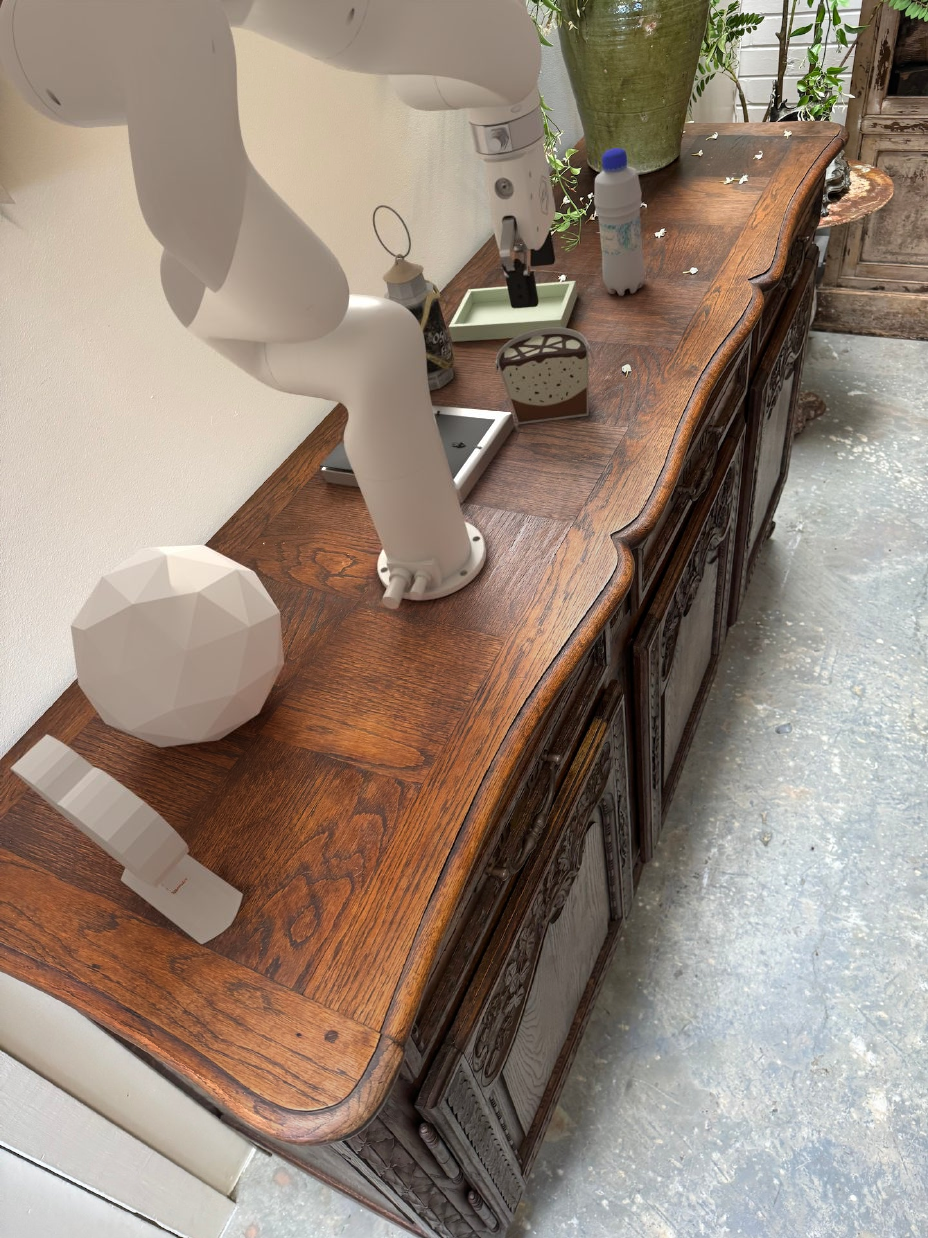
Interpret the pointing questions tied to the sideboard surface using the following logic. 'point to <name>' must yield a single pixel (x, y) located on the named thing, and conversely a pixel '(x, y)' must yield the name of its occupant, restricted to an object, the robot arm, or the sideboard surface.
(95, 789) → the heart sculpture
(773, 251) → the sideboard surface
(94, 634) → the ball
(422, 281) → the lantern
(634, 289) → the bottle
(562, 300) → the tray
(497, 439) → the picture frame
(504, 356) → the food container
